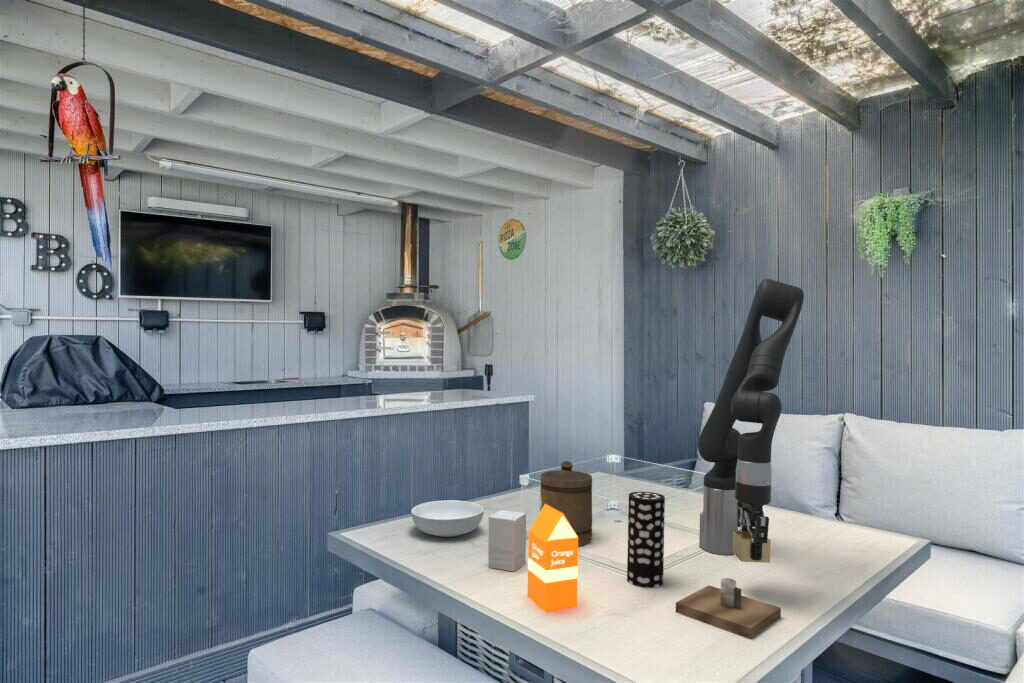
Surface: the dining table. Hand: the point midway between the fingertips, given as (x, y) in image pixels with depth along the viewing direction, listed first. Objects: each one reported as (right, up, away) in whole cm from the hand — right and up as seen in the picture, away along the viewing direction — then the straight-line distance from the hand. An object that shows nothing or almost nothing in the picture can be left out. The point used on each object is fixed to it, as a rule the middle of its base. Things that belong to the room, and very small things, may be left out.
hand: (750, 554), depth 141 cm
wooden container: (-39, -8, +37) cm, 54 cm away
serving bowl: (-73, -8, +41) cm, 84 cm away
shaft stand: (-9, -9, -12) cm, 17 cm away
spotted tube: (-23, -9, +6) cm, 25 cm away
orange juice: (-45, -8, -7) cm, 46 cm away
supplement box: (-55, -8, +15) cm, 58 cm away
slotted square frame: (0, -1, 0) cm, 1 cm away
